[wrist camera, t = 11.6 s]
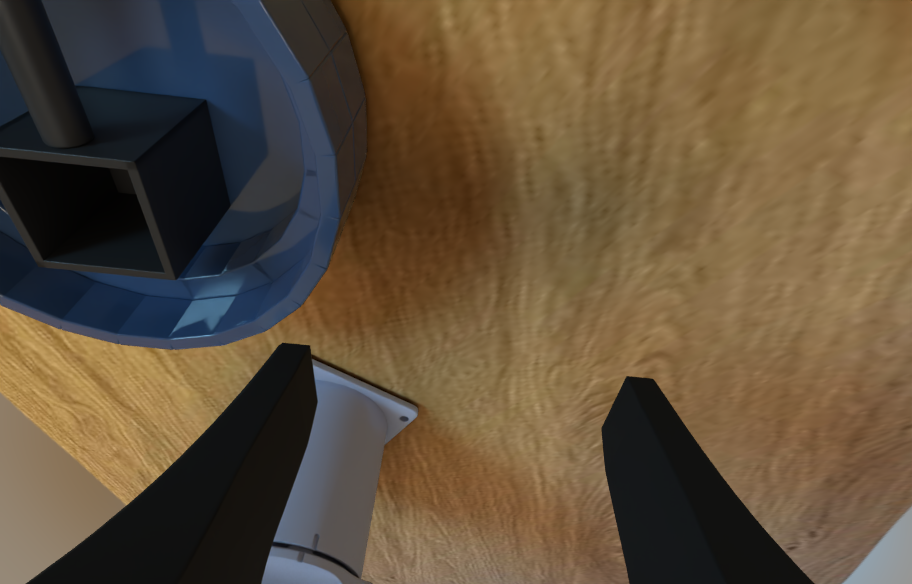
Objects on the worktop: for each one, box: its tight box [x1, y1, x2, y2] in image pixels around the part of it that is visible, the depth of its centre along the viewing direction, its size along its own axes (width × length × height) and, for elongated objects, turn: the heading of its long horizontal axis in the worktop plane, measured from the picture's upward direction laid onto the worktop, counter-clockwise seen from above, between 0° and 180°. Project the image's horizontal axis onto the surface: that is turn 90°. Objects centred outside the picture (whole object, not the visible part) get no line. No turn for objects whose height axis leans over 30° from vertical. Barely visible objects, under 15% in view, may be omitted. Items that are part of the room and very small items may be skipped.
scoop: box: [0, 0, 230, 281], centre depth 15 cm, size 8×4×5 cm, turn 175°
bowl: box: [0, 0, 367, 350], centre depth 16 cm, size 15×15×5 cm
